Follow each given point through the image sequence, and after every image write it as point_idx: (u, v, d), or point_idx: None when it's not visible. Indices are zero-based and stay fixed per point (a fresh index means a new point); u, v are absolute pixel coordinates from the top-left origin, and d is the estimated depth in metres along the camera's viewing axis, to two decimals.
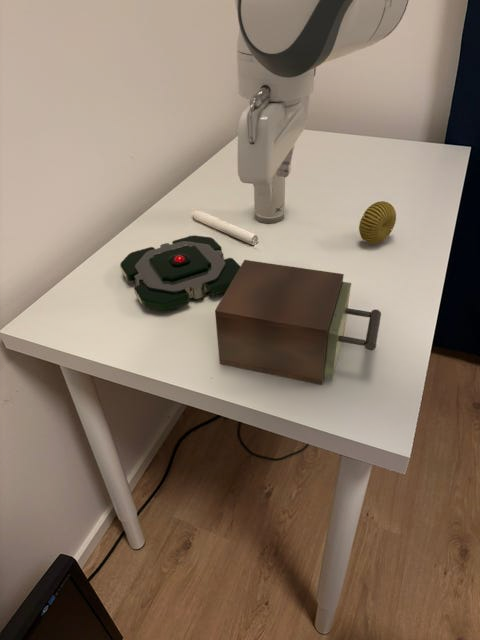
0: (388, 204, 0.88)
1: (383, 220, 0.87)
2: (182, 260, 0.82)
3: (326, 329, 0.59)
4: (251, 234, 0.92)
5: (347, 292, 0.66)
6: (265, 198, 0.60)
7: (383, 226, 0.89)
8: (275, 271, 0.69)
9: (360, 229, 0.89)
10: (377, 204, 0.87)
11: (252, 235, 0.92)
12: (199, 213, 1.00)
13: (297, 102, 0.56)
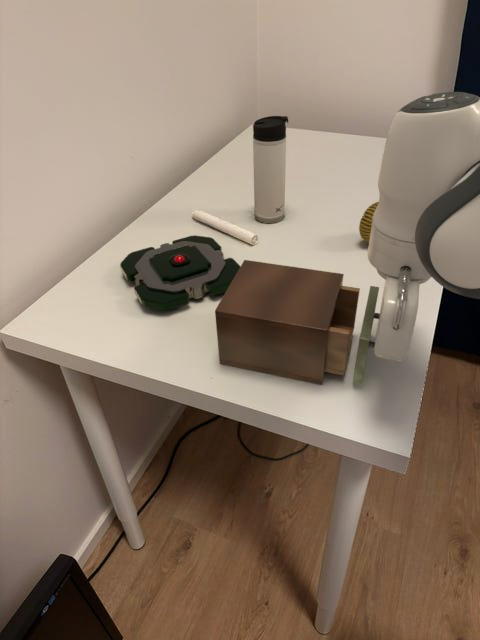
0: None
1: None
2: (182, 260, 0.82)
3: (326, 329, 0.59)
4: (251, 234, 0.92)
5: (376, 296, 0.65)
6: None
7: None
8: (275, 271, 0.69)
9: (360, 229, 0.89)
10: (377, 204, 0.87)
11: (252, 235, 0.92)
12: (199, 213, 1.00)
13: None
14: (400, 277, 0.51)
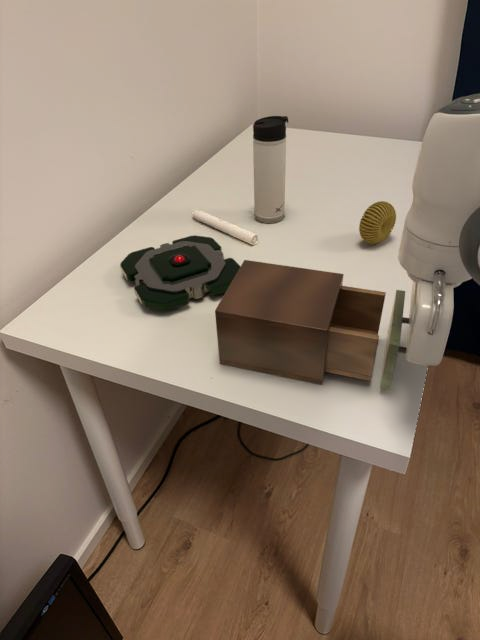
0: (388, 204, 0.88)
1: (383, 220, 0.87)
2: (182, 260, 0.82)
3: (326, 329, 0.59)
4: (251, 234, 0.92)
5: (403, 301, 0.64)
6: None
7: (383, 226, 0.89)
8: (275, 271, 0.69)
9: (360, 229, 0.89)
10: (377, 204, 0.87)
11: (252, 235, 0.92)
12: (199, 213, 1.00)
13: None
14: (435, 281, 0.50)
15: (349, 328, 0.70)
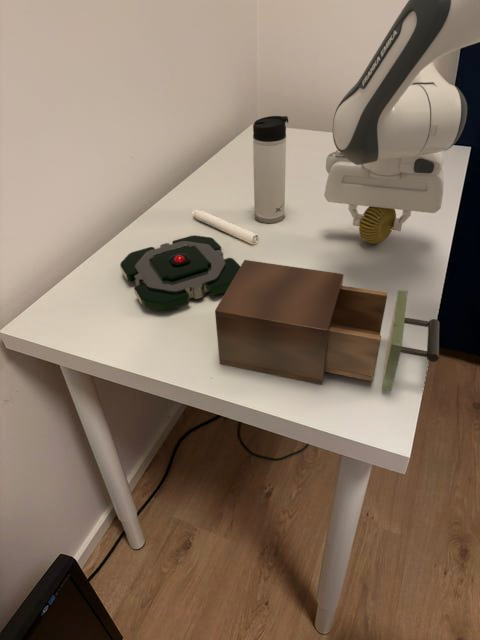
0: None
1: (383, 220, 0.87)
2: (182, 260, 0.82)
3: (326, 329, 0.59)
4: (252, 234, 0.92)
5: (405, 301, 0.64)
6: (353, 219, 0.91)
7: (383, 226, 0.89)
8: (275, 271, 0.69)
9: (360, 229, 0.89)
10: None
11: (253, 235, 0.92)
12: (200, 213, 1.00)
13: (378, 173, 0.81)
14: None
15: (351, 328, 0.70)
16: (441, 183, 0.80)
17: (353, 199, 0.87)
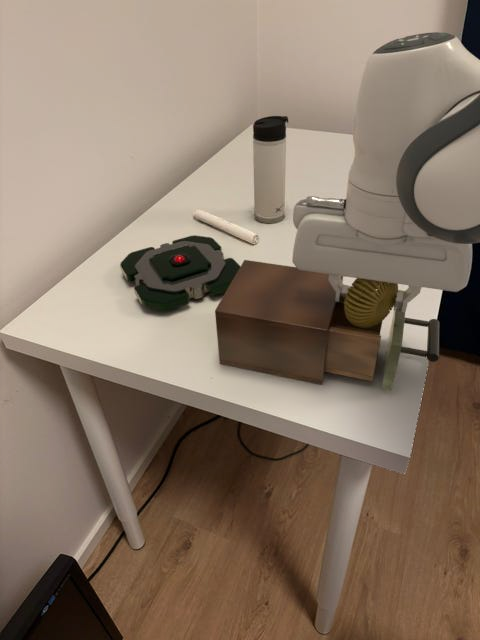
0: None
1: (379, 298, 0.58)
2: (182, 260, 0.82)
3: (326, 329, 0.59)
4: (252, 233, 0.92)
5: None
6: None
7: (379, 304, 0.61)
8: (275, 271, 0.69)
9: (345, 309, 0.60)
10: None
11: (253, 234, 0.92)
12: (200, 212, 1.00)
13: (370, 235, 0.53)
14: None
15: (351, 328, 0.70)
16: (469, 251, 0.51)
17: (334, 268, 0.58)
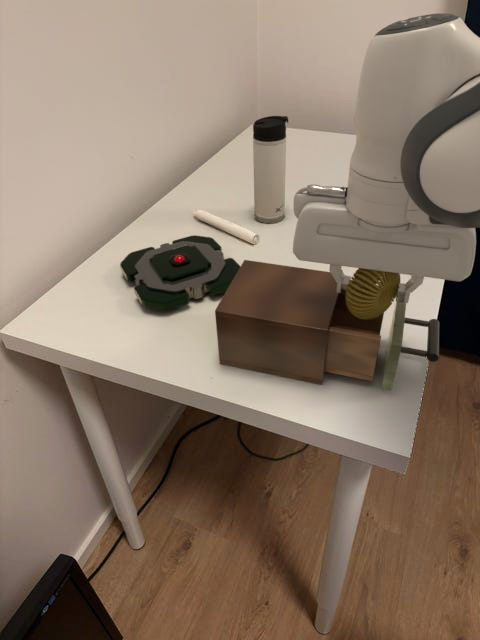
0: None
1: (381, 288, 0.58)
2: (182, 260, 0.82)
3: (326, 329, 0.59)
4: (252, 233, 0.92)
5: None
6: None
7: (381, 295, 0.60)
8: (275, 271, 0.69)
9: (347, 300, 0.60)
10: None
11: (253, 234, 0.92)
12: (201, 212, 1.00)
13: (372, 223, 0.52)
14: None
15: (351, 328, 0.70)
16: (473, 239, 0.50)
17: (335, 258, 0.57)
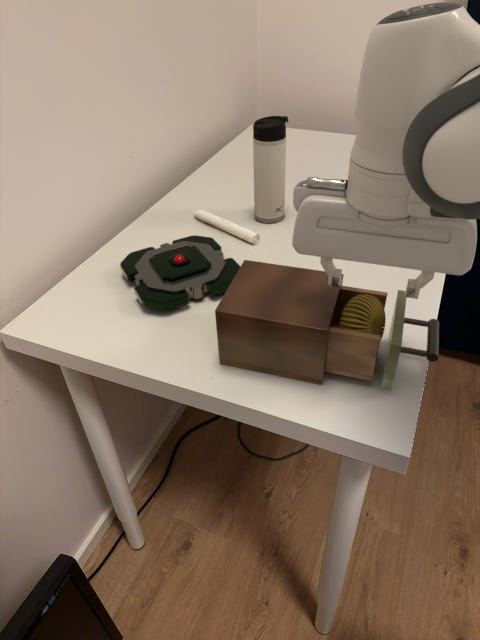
0: (372, 296, 0.63)
1: (372, 317, 0.61)
2: (182, 260, 0.82)
3: (326, 329, 0.59)
4: (253, 233, 0.92)
5: (404, 301, 0.64)
6: None
7: (372, 327, 0.63)
8: (275, 271, 0.69)
9: None
10: (358, 298, 0.62)
11: (254, 234, 0.92)
12: (201, 212, 1.00)
13: (373, 216, 0.51)
14: None
15: None
16: (474, 233, 0.50)
17: (335, 251, 0.57)
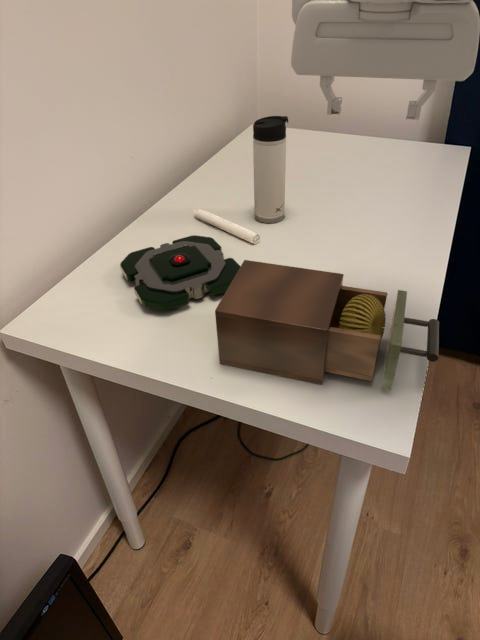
0: (372, 296, 0.63)
1: (371, 317, 0.61)
2: (182, 260, 0.82)
3: (326, 329, 0.59)
4: (253, 233, 0.92)
5: (404, 301, 0.64)
6: None
7: (372, 327, 0.63)
8: (275, 271, 0.69)
9: None
10: (358, 298, 0.62)
11: (254, 234, 0.92)
12: (201, 212, 1.00)
13: (373, 10, 0.50)
14: None
15: None
16: (477, 20, 0.48)
17: (335, 65, 0.55)
